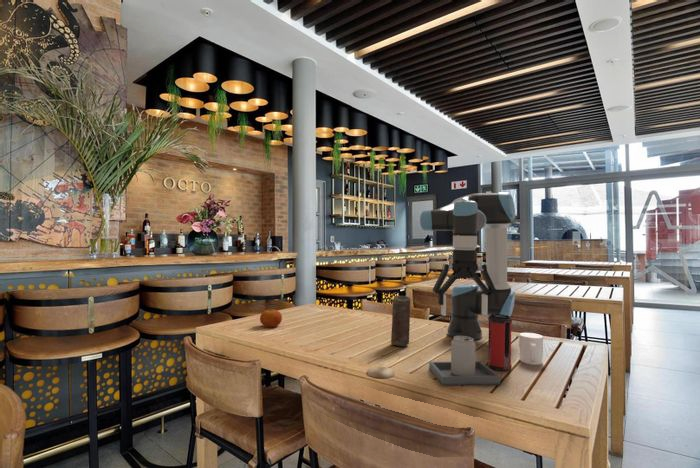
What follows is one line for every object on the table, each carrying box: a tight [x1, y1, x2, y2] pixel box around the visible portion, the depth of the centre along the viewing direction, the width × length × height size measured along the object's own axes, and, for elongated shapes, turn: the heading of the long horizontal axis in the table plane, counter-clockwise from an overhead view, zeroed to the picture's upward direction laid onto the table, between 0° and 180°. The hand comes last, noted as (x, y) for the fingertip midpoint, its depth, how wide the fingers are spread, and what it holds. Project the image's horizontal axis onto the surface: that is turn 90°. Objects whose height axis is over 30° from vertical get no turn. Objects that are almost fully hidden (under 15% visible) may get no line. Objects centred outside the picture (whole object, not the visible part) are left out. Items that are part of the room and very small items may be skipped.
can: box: [450, 336, 476, 376], centre depth 121 cm, size 8×8×12 cm
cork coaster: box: [366, 366, 396, 379], centre depth 123 cm, size 9×9×1 cm
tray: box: [428, 360, 501, 387], centre depth 121 cm, size 18×14×3 cm
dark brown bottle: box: [390, 295, 412, 347], centre depth 155 cm, size 8×7×20 cm
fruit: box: [259, 309, 283, 328], centre depth 184 cm, size 11×10×8 cm
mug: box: [518, 332, 544, 366], centre depth 138 cm, size 12×9×8 cm
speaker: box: [486, 314, 513, 372], centre depth 130 cm, size 8×8×18 cm
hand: (464, 314), depth 122 cm, fingers open, 13 cm apart
